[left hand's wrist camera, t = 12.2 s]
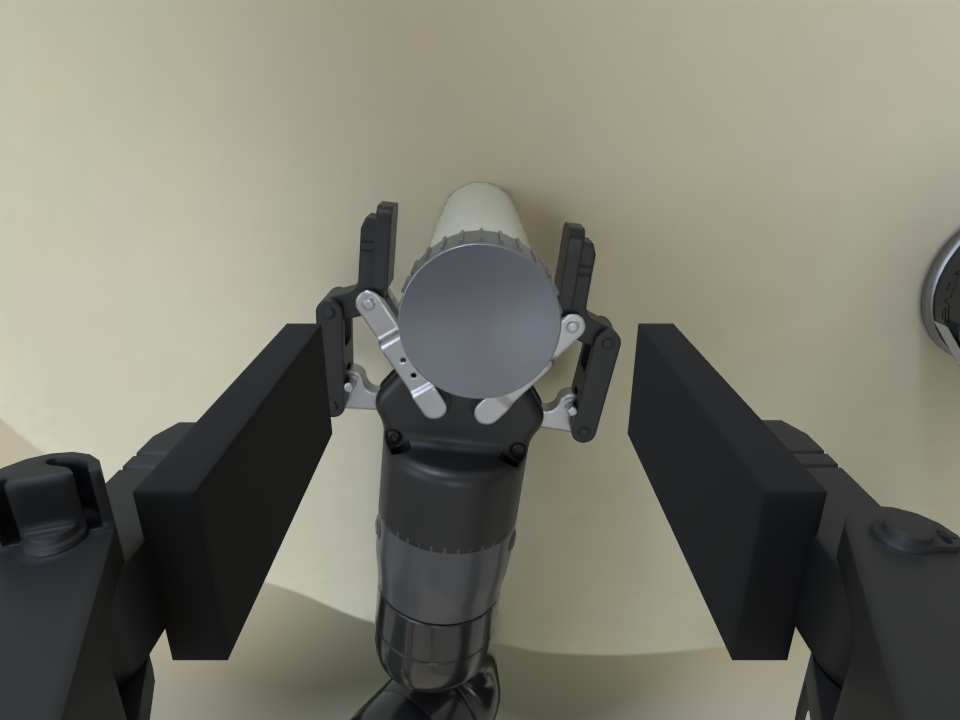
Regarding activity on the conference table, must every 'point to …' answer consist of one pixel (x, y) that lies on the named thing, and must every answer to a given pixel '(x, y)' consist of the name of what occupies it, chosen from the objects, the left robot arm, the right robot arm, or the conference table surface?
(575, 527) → the conference table surface
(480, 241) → the lid
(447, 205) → the bottle
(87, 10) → the conference table surface
